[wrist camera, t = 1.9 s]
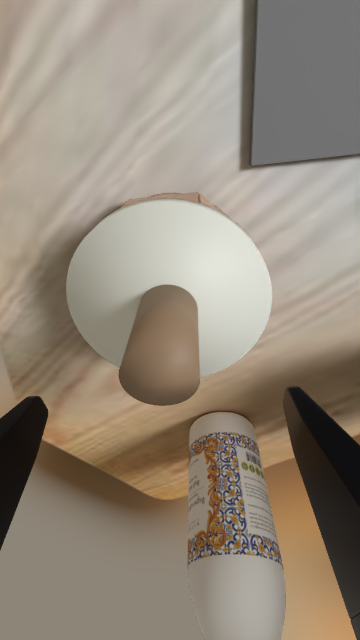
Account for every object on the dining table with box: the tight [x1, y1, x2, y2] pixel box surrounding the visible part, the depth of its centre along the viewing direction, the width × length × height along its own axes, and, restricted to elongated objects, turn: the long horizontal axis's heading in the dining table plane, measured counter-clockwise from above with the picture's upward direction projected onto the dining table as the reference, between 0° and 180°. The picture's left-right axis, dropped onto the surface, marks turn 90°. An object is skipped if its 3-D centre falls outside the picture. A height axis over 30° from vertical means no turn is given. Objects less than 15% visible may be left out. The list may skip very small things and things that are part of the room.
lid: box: [66, 197, 272, 406], centre depth 13 cm, size 11×11×6 cm
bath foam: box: [188, 412, 286, 640], centre depth 21 cm, size 7×7×20 cm
